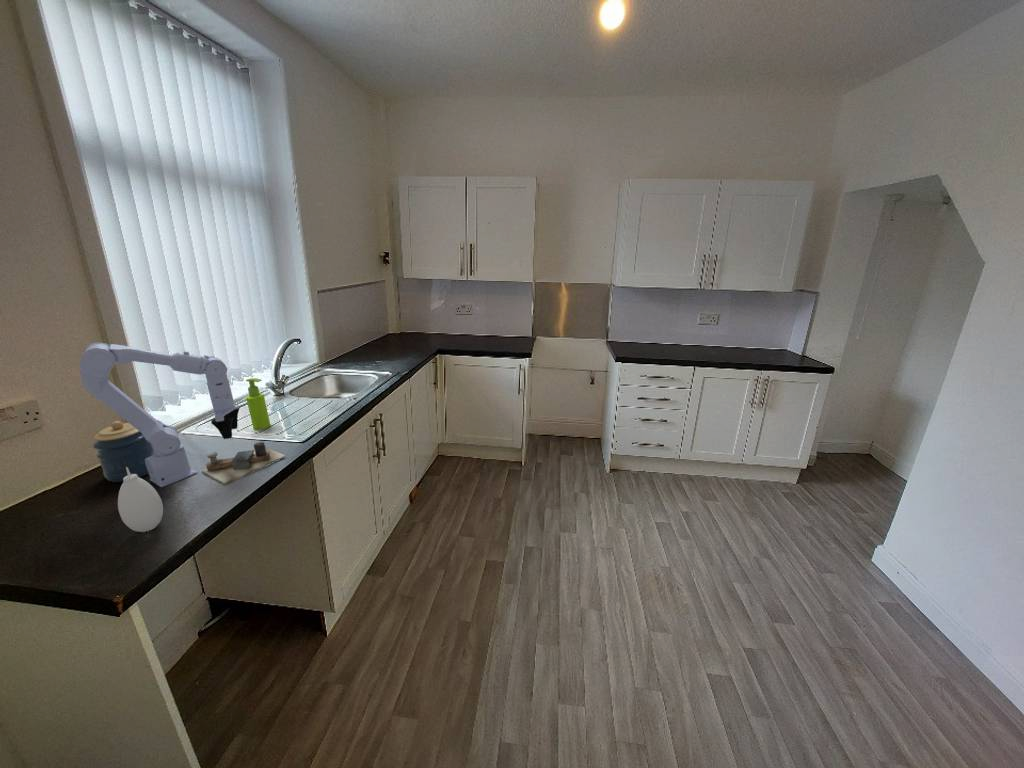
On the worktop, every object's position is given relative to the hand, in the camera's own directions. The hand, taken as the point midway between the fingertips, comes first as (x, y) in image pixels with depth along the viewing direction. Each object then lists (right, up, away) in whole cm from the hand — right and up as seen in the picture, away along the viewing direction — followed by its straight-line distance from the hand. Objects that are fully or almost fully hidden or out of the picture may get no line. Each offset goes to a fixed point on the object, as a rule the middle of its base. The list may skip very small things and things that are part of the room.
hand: (230, 433), depth 133 cm
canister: (-28, -12, -5) cm, 31 cm away
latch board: (+6, -10, -1) cm, 12 cm away
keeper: (+6, -10, -2) cm, 12 cm away
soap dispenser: (-6, -1, +27) cm, 28 cm away
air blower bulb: (+1, -21, -31) cm, 37 cm away
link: (+4, -9, -2) cm, 10 cm away
